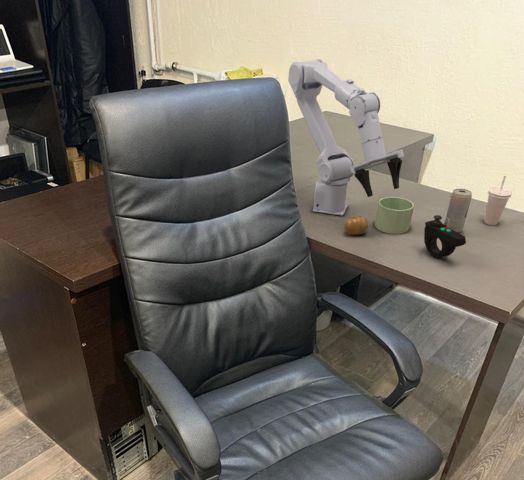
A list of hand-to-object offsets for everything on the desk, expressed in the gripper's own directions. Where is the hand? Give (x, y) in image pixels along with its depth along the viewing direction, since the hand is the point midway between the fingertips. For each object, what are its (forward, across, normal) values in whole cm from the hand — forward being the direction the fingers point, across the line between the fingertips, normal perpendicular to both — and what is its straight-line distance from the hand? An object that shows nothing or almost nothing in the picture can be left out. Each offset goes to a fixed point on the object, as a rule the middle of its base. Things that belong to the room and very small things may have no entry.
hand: (383, 192), depth 143 cm
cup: (+10, -3, +9) cm, 14 cm away
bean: (+9, -10, -1) cm, 13 cm away
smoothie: (+17, +20, +29) cm, 39 cm away
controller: (+20, +11, -1) cm, 23 cm away
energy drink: (+16, +12, +16) cm, 25 cm away
